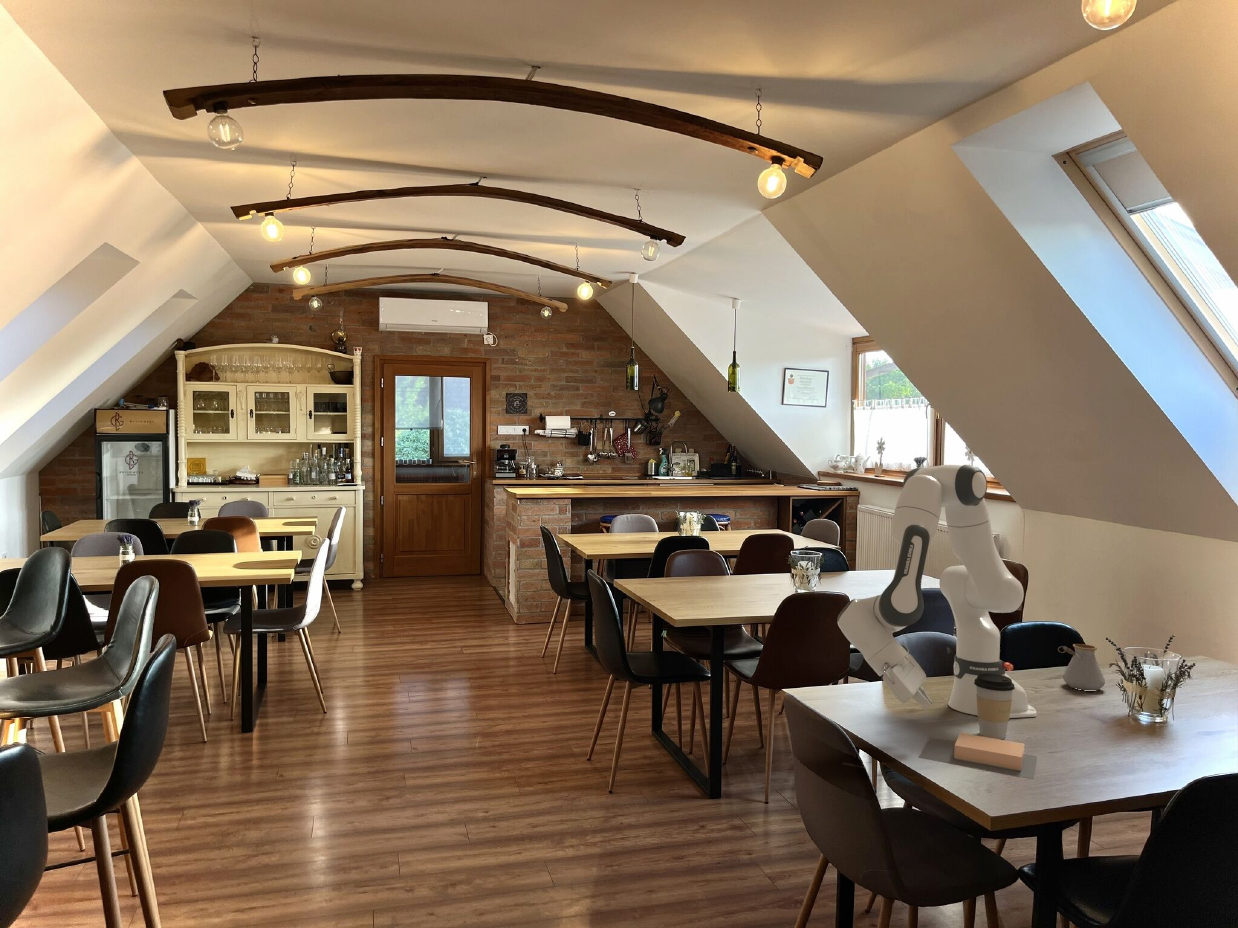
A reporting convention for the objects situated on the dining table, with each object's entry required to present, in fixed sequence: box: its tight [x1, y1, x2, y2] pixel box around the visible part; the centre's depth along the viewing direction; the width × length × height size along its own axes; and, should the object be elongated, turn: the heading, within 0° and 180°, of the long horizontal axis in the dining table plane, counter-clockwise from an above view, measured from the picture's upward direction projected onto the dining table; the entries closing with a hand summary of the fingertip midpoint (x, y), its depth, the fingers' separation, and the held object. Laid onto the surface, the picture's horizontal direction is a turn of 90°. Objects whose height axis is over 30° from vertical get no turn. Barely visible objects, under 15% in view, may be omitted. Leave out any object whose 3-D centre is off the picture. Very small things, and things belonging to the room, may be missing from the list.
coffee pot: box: [1057, 643, 1106, 690], centre depth 259 cm, size 21×12×15 cm, turn 128°
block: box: [954, 732, 1026, 771], centre depth 199 cm, size 3×10×14 cm
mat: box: [918, 736, 1038, 780], centre depth 200 cm, size 24×16×1 cm, turn 61°
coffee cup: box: [974, 673, 1015, 740], centre depth 216 cm, size 9×9×15 cm
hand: (929, 705), depth 205 cm, fingers closed
